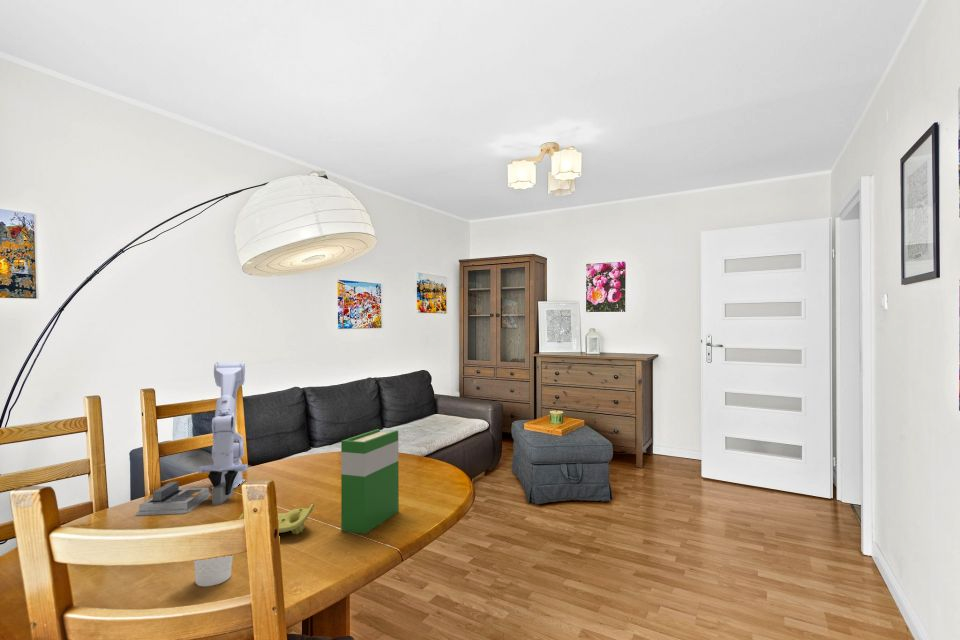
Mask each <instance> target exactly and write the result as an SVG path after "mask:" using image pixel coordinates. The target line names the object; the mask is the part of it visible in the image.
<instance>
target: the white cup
mask: <svg viewBox="0 0 960 640" xmlns="http://www.w3.org/2000/svg"><path fill="white" fill-rule="evenodd" d="M233 557H234V554H233V555H232V556H225V557H218V558H211V559H205V560H197V561H194V560H193V563H194V564H193V565H194V566H193V567H194V576H195V579H194V582H195V584H196V585H197V586H198V587H213V586H217V585H220V584H222V583H225V582H226V581H227V580H229V579H230V578H231V575H232V564H233Z"/></svg>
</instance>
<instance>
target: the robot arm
mask: <svg viewBox="0 0 960 640" xmlns="http://www.w3.org/2000/svg"><path fill="white" fill-rule="evenodd" d="M245 376H246V362H244V361H230V362H229V361H228V362H227V361H225V362H221V361H220V362H218V361H217V362H215V363H214V366H213V377H214V382H215V384H216V386H217V387H220V396H219V397H218V398H217V400H216V402H215V411H214V417H212V420H211V432H212V440H213V441H212V446H211V459H212V460H213V464H210V465H200V466H199V467H198V474H203V473H204V474H205V473H206V474H207V473H209V474H208V475H207V478H208V480H210V483H211V484H212V487H211V490H212V489H213V488H215V487H216V486H217V485H219V484H220V483H222V482H223V481H225V482H226V495H229V494H230V493H231V488H232V485H233V489H236V488H238V487H239V486H240V485H241V484H243V483H244V482H246V479H244V478H243V473H245V472H247V471H248V470H249V469H248V467H249V466H248V465H249V464H248V463H245V464H243V462H242V458H243V457H244V452H245V446H244V444H245V443H244V437H243V435H241V434H240V433H238V432H237V431H236V424H237V423H236V421H237V395H238V394H237V393H238V390H239V387H242V386H243V385H244V383H245V379H246V378H245ZM242 481H243V482H242ZM239 484H240V485H239ZM238 485H239V486H238Z"/></svg>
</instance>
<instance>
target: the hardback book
mask: <svg viewBox="0 0 960 640" xmlns="http://www.w3.org/2000/svg"><path fill="white" fill-rule="evenodd" d="M380 430H381V429H380V428H378V429H374V430H371V431H368V432H364V433H362V434H358V435H354V436H353V437H348V438H347V439H346V438H345V439H342V440H340V441H341V442H340V443H341V445H340V446H341V447H340V448H341V449H340V450H341V454H340V457H341V461H340V462H341V463H340V464H341V467H340V468H341V470H340V473H341V476H340V477H341V478H340V479H341V481H340V484H341V486H340V487H341V489H340V490H341V492H340V495H341V502H340V504H341V505H340V506H341V512H340V515H341V519H340V520H341V532H342V531H344V532H350V533H357V534H364V535H365V534H367V533H369V532H370V531H371V530H373V529H374V528H376V527H378V526H379V525H381V524H382V523H384V522H386V521H387V520H388V519H390V518H391V517H393V516H395V515H396V514H397V513H398V512H400V511H399V510H400V509H399V506H400V505H399V502H400V501H399V497H400V495H399V490H400V487H399V430H393V431H390V432H387V431H385V432H384V431H380ZM396 512H397V513H396Z"/></svg>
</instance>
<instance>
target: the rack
mask: <svg viewBox="0 0 960 640" xmlns="http://www.w3.org/2000/svg"><path fill="white" fill-rule="evenodd" d="M179 486H180V485H179V481H170V482H168V483H166V484H164V485H163V486H161V487H158V488H157V489H155V490H153V491H152V497H150V498H149V499H146V500H145V501H143V502H141V503H139V506H138V507H139V510H138V511H137V512H136V516H137V517H138V516H139V517H141V516H156V515H157V516H159V515H181V514H182V515H183V514H189V512H191V511H192V510H194V509H195V508H197V507H198V506H199V505H200V504H202V503H203V502H205V501H206V500H208V499H209V498H210V497H211V496H212V492H210V487H198V488H195V487H192V488H179Z"/></svg>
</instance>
